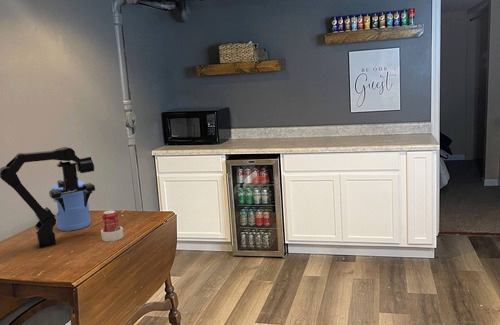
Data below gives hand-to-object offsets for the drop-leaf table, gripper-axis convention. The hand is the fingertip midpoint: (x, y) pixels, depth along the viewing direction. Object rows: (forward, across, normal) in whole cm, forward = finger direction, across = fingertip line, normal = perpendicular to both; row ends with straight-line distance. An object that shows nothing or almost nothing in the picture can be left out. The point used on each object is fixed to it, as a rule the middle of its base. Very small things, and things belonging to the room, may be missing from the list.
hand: (75, 209), depth 215 cm
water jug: (+13, -3, -19) cm, 23 cm away
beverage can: (+13, -11, +14) cm, 22 cm away
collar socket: (+13, -11, +14) cm, 22 cm away
